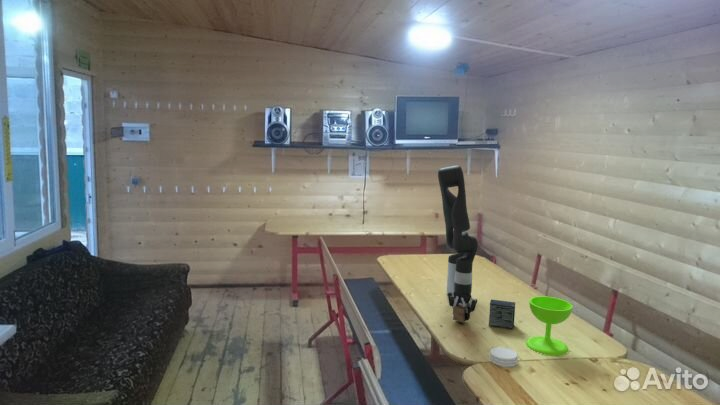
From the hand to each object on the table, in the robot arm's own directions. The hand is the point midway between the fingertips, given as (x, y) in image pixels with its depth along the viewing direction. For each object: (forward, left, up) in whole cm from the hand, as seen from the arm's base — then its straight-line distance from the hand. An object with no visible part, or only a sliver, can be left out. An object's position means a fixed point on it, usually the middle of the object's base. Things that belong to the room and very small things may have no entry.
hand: (461, 318), depth 218 cm
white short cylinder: (+19, +31, -3) cm, 37 cm away
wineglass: (-5, +37, -2) cm, 37 cm away
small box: (-11, +14, -2) cm, 18 cm away
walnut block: (0, 0, -1) cm, 1 cm away
